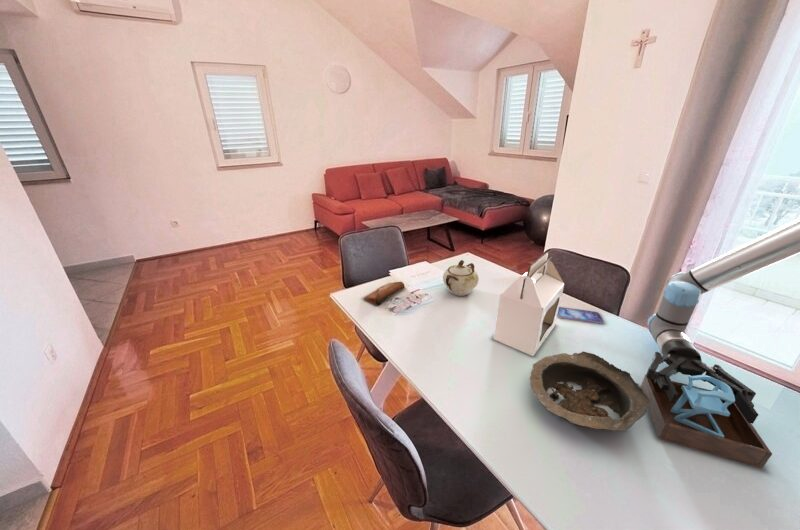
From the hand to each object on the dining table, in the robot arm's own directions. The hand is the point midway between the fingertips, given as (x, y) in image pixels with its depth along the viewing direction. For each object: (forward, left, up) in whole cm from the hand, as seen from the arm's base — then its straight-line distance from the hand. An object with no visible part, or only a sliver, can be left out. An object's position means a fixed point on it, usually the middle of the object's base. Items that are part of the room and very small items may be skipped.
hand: (712, 408), depth 69 cm
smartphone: (+21, -45, -9) cm, 51 cm away
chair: (0, -3, -8) cm, 8 cm away
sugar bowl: (+67, -47, -9) cm, 82 cm away
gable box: (+39, -26, -9) cm, 48 cm away
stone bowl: (+25, +2, -9) cm, 26 cm away
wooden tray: (0, -3, -9) cm, 9 cm away
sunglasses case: (+96, -32, -9) cm, 101 cm away
